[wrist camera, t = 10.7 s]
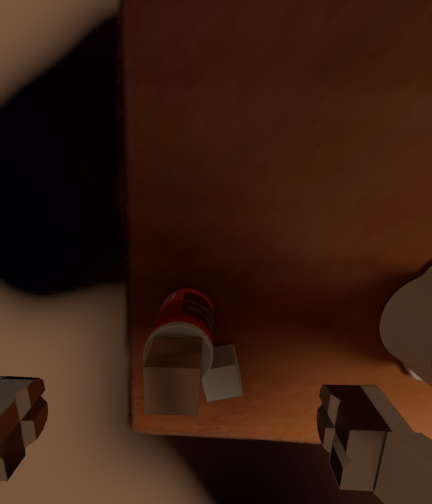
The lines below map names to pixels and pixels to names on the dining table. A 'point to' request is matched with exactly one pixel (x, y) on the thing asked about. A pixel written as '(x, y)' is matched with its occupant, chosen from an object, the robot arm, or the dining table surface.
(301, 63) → the dining table surface
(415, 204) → the dining table surface
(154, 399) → the walnut block
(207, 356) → the canned food
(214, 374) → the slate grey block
